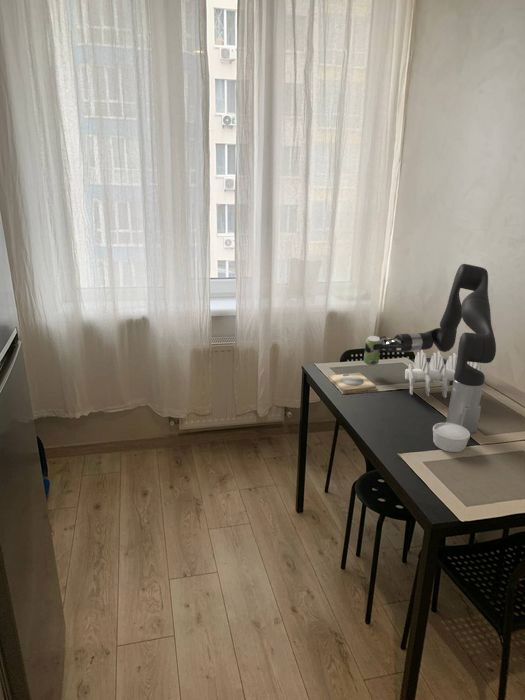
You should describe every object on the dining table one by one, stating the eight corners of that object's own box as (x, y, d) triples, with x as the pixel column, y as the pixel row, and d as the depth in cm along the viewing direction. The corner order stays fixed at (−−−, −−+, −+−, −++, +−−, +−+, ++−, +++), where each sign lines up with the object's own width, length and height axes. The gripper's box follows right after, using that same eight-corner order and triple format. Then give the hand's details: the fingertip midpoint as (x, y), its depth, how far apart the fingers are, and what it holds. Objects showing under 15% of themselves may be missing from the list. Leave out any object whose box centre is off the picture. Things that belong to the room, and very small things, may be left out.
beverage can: (377, 361, 213) (380, 334, 209) (379, 368, 206) (383, 340, 202) (361, 360, 213) (365, 333, 209) (363, 367, 207) (367, 339, 202)
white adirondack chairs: (401, 397, 203) (467, 399, 200) (409, 397, 185) (480, 399, 182) (402, 351, 205) (467, 353, 202) (409, 347, 187) (480, 348, 184)
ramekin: (438, 432, 169) (440, 418, 167) (472, 444, 162) (475, 429, 161) (424, 445, 161) (427, 431, 159) (460, 458, 154) (463, 443, 152)
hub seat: (375, 389, 199) (376, 385, 199) (343, 393, 195) (343, 388, 195) (359, 375, 212) (359, 371, 211) (328, 378, 208) (328, 374, 207)
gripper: (399, 328, 215) (363, 331, 209) (419, 339, 202) (380, 342, 197) (397, 345, 217) (361, 348, 212) (416, 356, 204) (378, 360, 199)
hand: (371, 345), depth 204 cm, fingers closed on beverage can, 3 cm apart
